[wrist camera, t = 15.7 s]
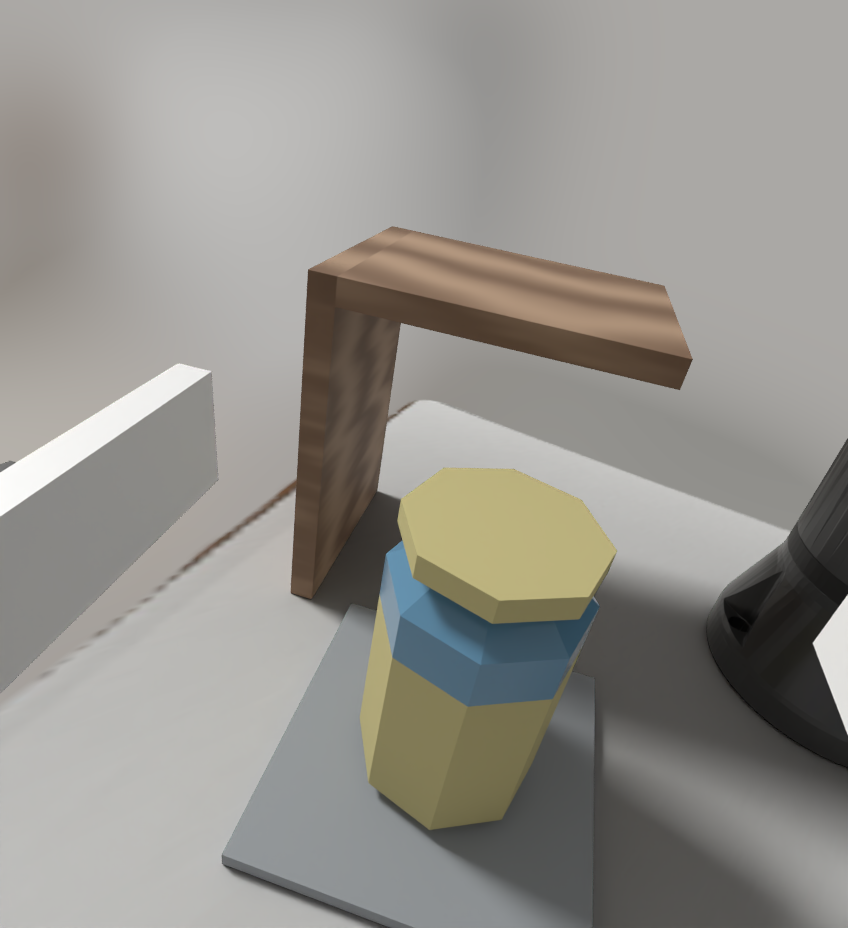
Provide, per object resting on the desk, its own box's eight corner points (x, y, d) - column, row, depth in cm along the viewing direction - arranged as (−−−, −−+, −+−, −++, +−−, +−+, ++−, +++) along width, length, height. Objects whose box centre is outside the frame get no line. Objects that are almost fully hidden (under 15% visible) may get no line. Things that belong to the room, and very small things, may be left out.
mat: (350, 611, 40) (351, 602, 39) (591, 686, 38) (595, 678, 37) (222, 863, 26) (221, 854, 26) (586, 1002, 24) (591, 994, 24)
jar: (531, 698, 35) (613, 489, 27) (524, 865, 27) (637, 640, 19) (379, 659, 36) (416, 443, 28) (331, 811, 28) (364, 572, 20)
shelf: (360, 485, 52) (392, 226, 41) (569, 544, 50) (664, 285, 38) (290, 592, 40) (308, 269, 29) (559, 676, 38) (692, 359, 27)
